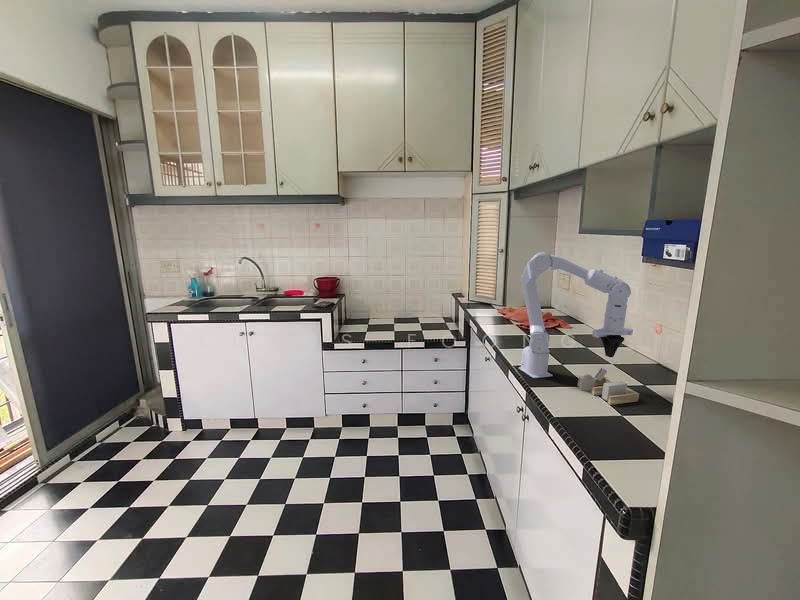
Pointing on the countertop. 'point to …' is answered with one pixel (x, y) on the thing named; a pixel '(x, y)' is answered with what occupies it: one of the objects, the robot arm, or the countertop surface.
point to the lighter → (591, 380)
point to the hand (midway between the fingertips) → (609, 356)
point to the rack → (616, 399)
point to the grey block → (613, 389)
